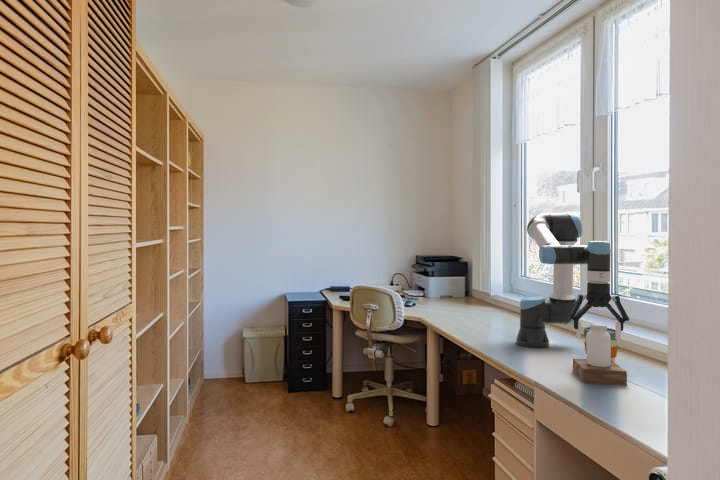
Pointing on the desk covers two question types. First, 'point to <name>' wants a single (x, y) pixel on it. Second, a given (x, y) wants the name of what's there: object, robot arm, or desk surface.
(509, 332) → the desk surface
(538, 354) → the desk surface
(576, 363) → the walnut base
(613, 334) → the reusable coffee cup
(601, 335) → the pill bottle
